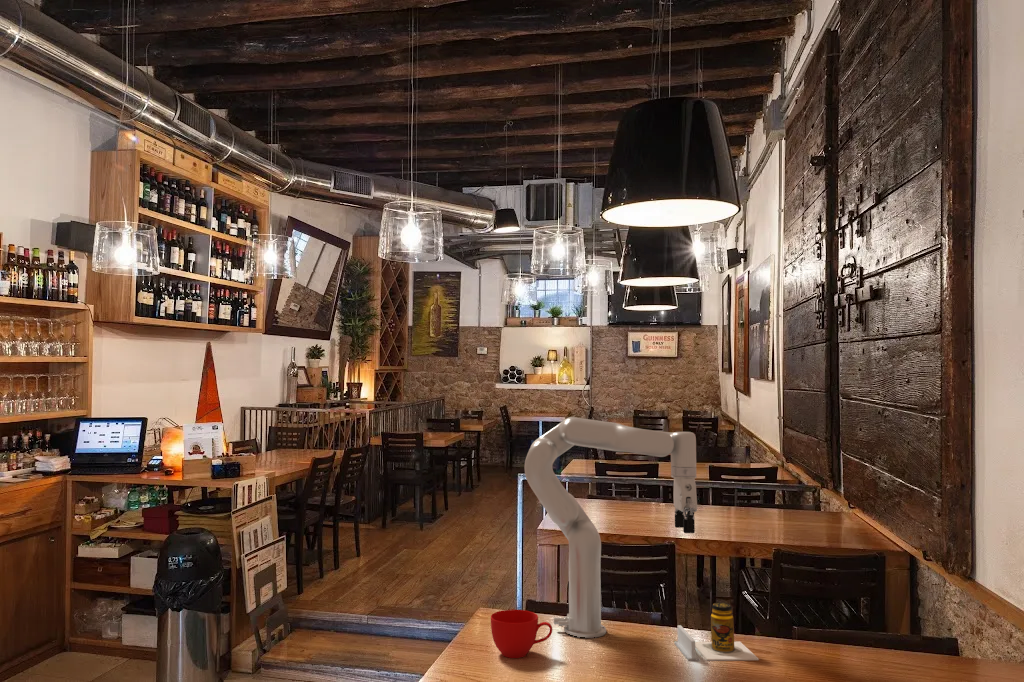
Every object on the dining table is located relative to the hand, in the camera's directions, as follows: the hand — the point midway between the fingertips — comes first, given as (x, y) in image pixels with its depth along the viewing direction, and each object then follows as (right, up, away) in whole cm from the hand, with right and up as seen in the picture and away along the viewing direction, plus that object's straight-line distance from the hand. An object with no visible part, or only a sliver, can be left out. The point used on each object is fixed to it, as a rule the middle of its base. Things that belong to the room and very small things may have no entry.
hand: (684, 530), depth 214 cm
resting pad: (+6, -29, -18) cm, 35 cm away
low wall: (-4, -29, -19) cm, 34 cm away
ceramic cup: (-49, -28, -21) cm, 61 cm away
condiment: (+6, -28, -17) cm, 34 cm away
